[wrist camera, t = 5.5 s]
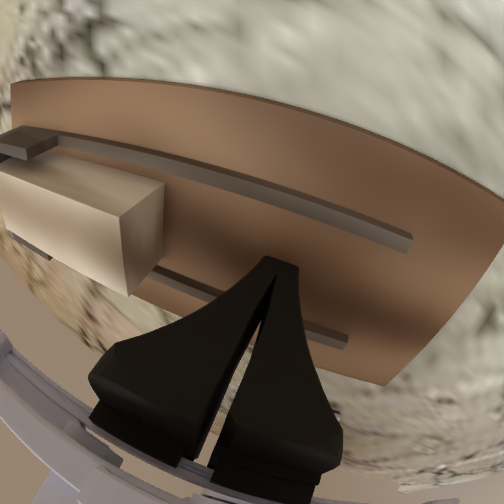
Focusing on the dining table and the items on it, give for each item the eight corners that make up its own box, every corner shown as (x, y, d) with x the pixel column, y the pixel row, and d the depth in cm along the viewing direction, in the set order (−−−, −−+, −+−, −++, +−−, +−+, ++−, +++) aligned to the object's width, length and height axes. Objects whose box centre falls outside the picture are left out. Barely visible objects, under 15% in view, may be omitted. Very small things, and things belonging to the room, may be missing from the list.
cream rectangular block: (162, 257, 14) (128, 297, 12) (39, 204, 15) (6, 228, 13) (164, 183, 12) (118, 217, 9) (31, 147, 13) (-8, 167, 10)
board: (384, 375, 15) (381, 423, 13) (40, 235, 19) (11, 259, 16) (512, 204, 8) (549, 251, 5) (20, 80, 11) (-23, 95, 9)
